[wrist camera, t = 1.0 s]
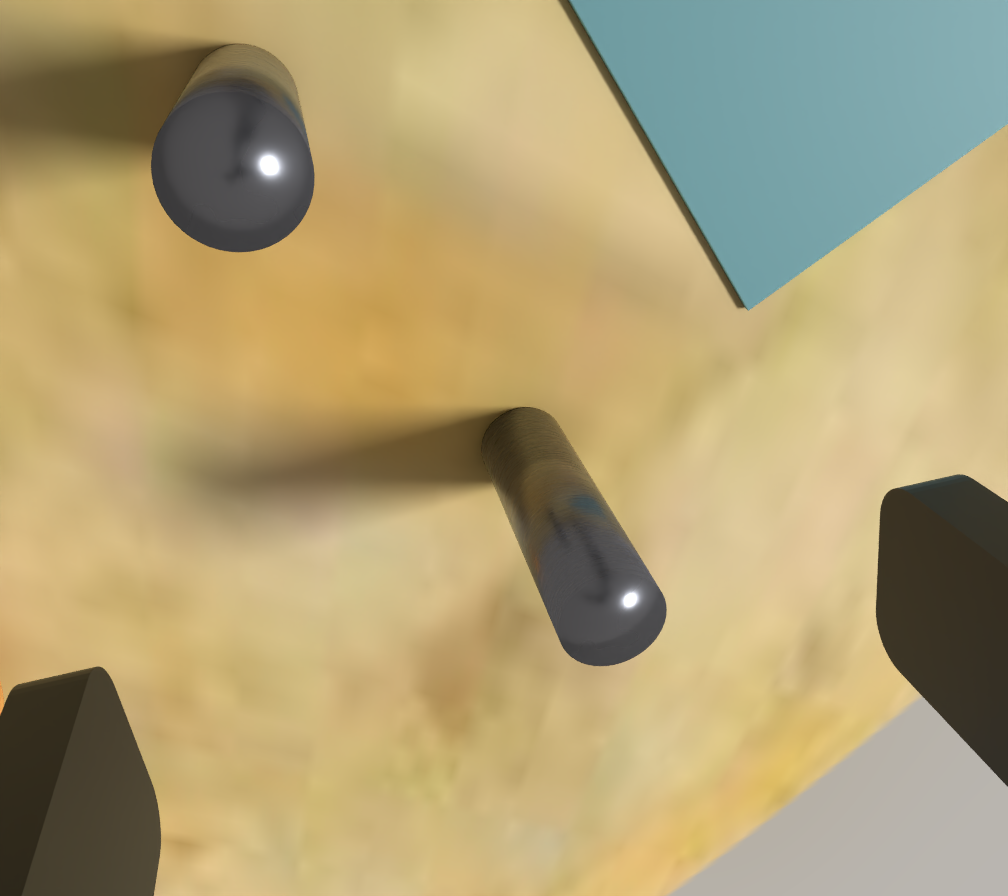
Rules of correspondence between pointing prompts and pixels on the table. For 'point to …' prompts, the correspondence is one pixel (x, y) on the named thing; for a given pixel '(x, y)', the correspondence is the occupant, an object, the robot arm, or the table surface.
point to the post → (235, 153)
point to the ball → (1, 699)
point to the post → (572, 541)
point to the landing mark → (802, 111)
